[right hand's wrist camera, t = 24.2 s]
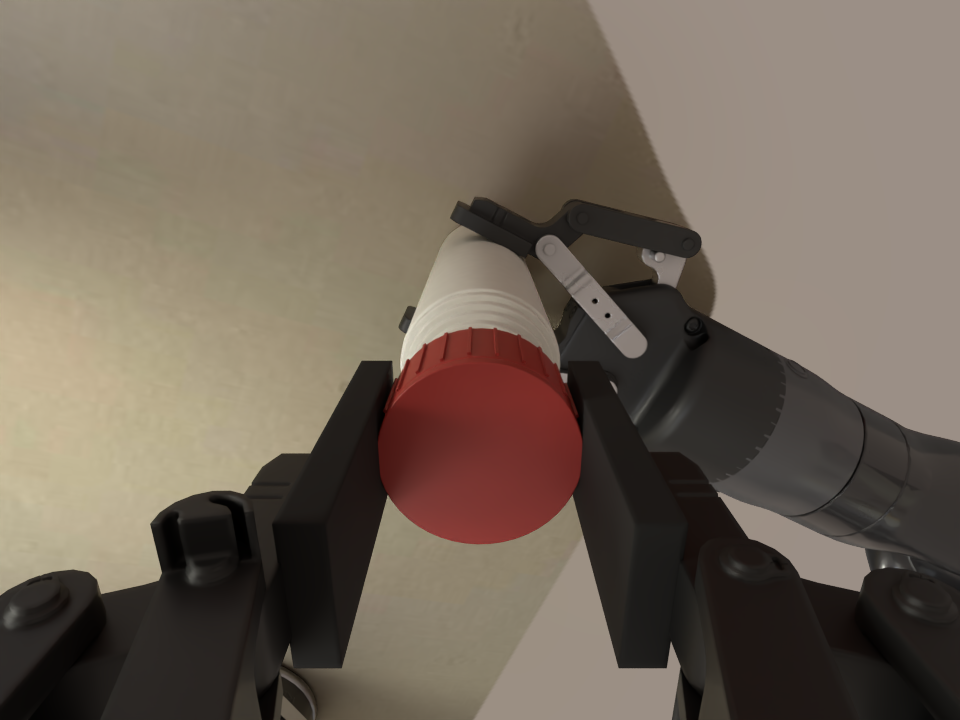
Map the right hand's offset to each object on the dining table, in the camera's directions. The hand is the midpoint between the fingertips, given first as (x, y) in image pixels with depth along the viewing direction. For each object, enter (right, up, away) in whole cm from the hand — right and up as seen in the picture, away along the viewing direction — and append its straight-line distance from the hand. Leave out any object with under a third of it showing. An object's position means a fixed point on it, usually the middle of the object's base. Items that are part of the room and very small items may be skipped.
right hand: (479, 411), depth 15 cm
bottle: (0, +7, +18) cm, 19 cm away
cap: (0, -1, -2) cm, 2 cm away
